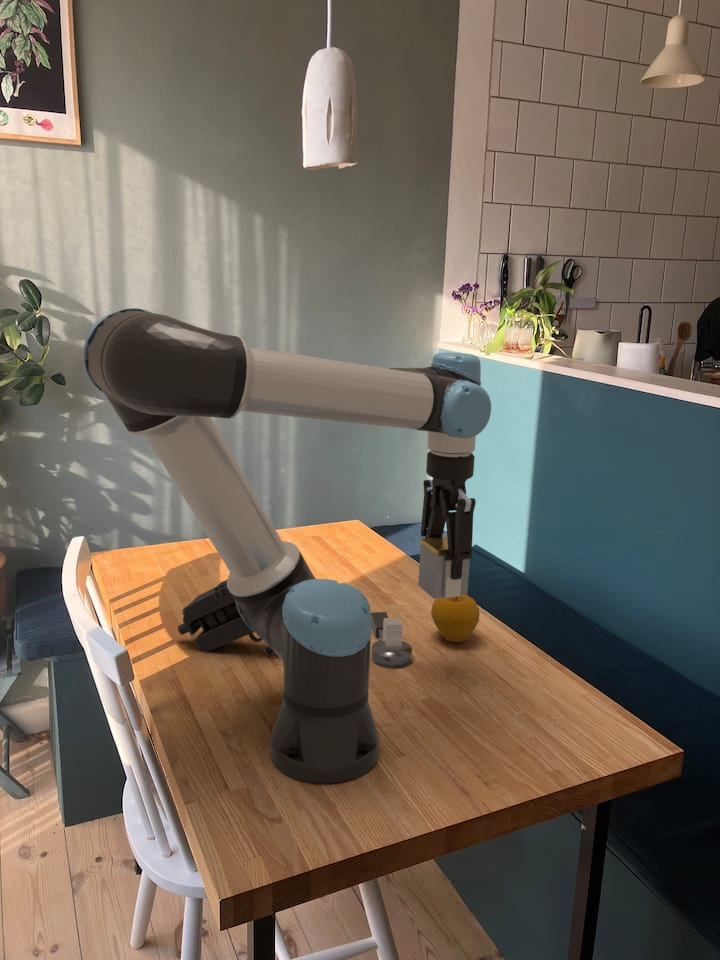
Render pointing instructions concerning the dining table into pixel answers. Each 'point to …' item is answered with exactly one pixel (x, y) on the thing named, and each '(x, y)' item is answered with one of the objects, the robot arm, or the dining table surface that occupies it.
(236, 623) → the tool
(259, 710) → the dining table surface
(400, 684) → the dining table surface
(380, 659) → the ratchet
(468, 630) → the apple
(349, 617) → the robot arm
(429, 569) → the lidded square canister
